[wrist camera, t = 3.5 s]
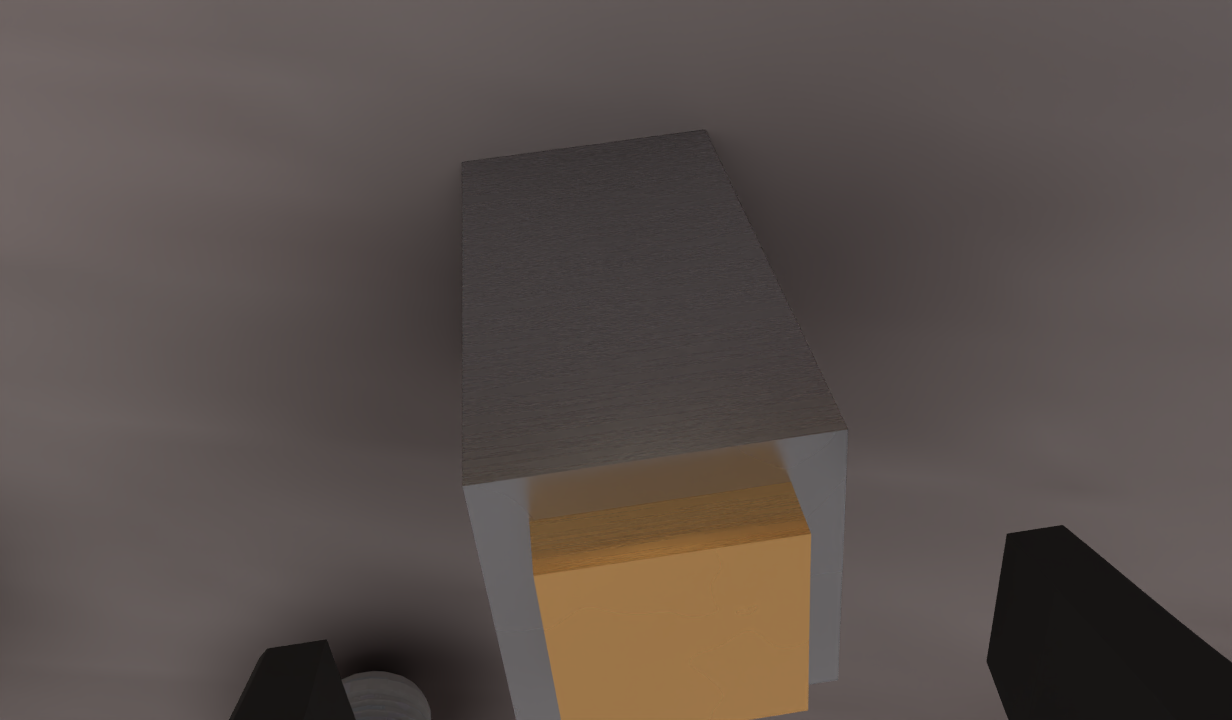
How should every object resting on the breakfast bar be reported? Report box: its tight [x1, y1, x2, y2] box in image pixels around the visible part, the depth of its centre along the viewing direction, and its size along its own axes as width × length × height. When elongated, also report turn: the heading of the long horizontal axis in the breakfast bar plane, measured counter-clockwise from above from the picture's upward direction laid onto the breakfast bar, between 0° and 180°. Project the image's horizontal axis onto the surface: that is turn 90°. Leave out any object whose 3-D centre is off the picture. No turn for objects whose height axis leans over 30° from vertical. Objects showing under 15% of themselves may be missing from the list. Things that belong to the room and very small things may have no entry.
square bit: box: [462, 130, 848, 720], centre depth 15 cm, size 4×4×9 cm
